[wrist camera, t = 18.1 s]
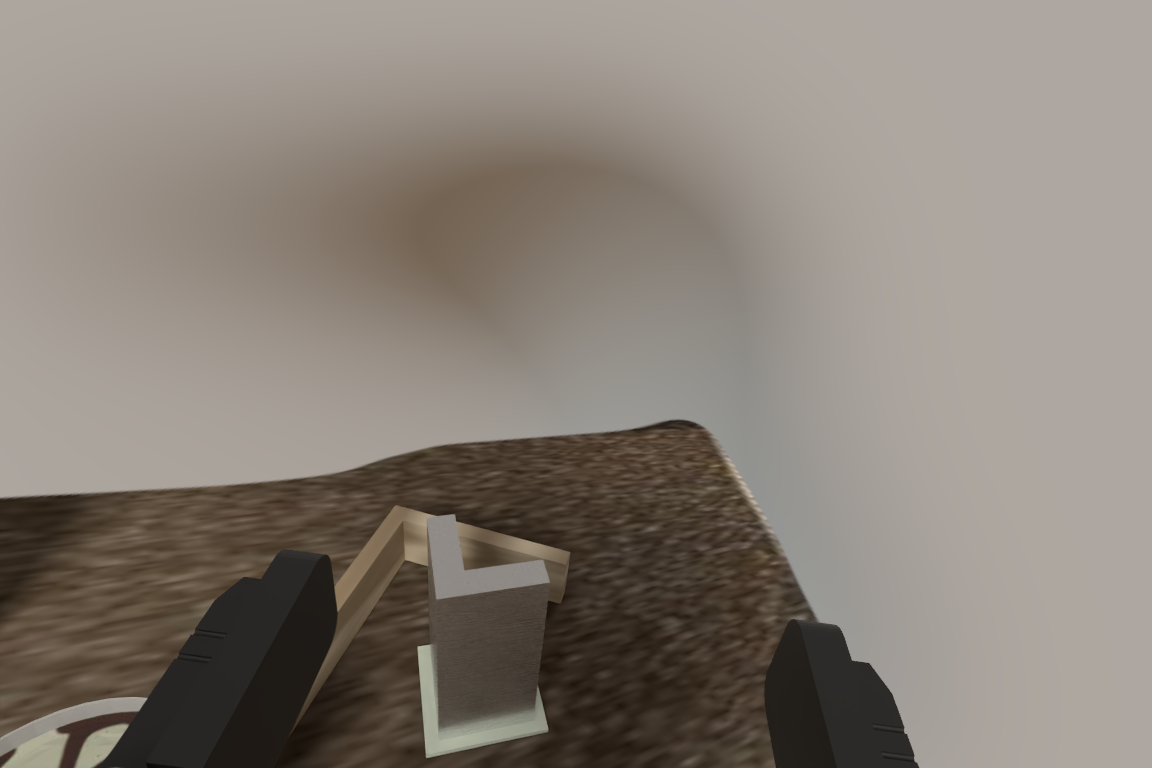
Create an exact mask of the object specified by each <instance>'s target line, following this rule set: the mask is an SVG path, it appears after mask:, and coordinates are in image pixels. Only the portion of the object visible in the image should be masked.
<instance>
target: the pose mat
mask: <svg viewBox="0 0 1152 768" xmlns="http://www.w3.org/2000/svg"><path fill="white" fill-rule="evenodd" d="M418 660H419V673H420V686H421V699H422V711H423V724H424V737H425V750H426V758H429V757H434V756H438V755H443V754H448V753H452V752H457V751H462V750H467V749H471V748H476V747H481V746H485V745H490V744H495V743H499V742H504V741H509V740H513V739H518V738H523V737H527V736H532V735H537V734H541V733H546V732H548V725H547V721H546V717H545V713H544V709H543V705H542V700H541V696H540V692H539V688H538V687H537V696H536V704H535V712H534V721H530V722H526V723H521V724H516V725H511V726H507V727H502V728H497V729H492V730H488V731H483V732H478V733H474V734H469V735H464V736H459V737H455V738H450V739H445V740H440V741H439V738H438V728H437V718H436V708H435V698H434V688H433V678H432V668H431V658H430V645H425V646H419V647H418Z"/></svg>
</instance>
